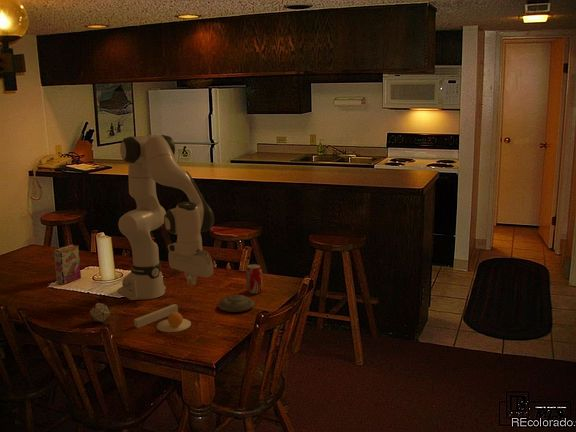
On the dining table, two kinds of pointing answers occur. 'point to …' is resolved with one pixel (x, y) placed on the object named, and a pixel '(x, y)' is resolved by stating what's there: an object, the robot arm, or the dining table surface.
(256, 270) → the soda can
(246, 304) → the flying saucer
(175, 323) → the ball
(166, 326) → the disc
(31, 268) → the dining table surface
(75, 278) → the candy bar box
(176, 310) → the bar
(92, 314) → the game die
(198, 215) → the robot arm
